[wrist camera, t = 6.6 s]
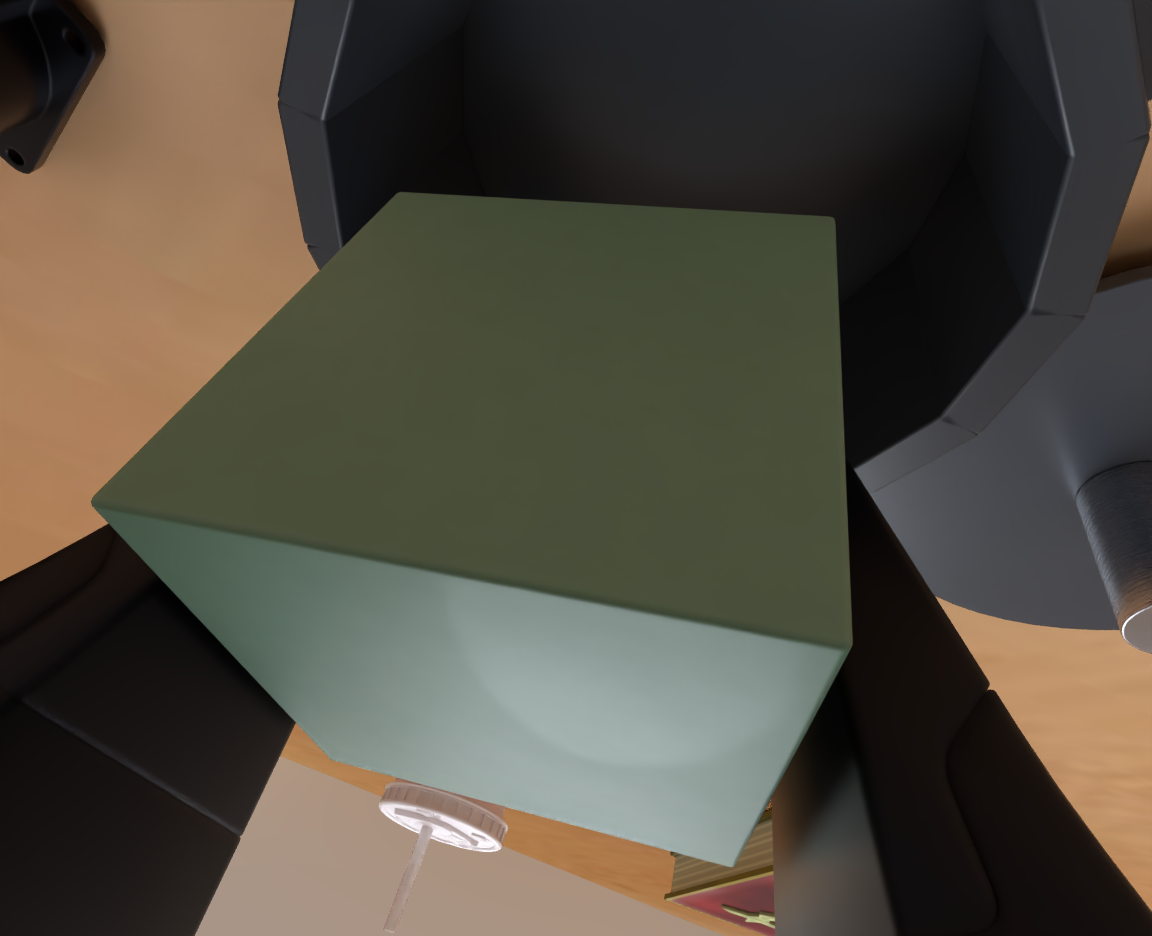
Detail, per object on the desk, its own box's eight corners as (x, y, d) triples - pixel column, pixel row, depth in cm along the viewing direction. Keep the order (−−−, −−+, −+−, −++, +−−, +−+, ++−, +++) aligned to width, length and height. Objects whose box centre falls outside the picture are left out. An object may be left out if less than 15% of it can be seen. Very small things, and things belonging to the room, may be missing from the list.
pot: (1254, 170, 13) (1470, 369, 8) (559, 431, 23) (500, 578, 19) (1186, -934, 6) (1875, -2264, 2) (277, 104, 17) (94, 215, 13)
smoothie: (477, 606, 34) (352, 911, 25) (577, 658, 36) (493, 964, 26) (436, 640, 39) (317, 909, 30) (526, 686, 40) (439, 955, 31)
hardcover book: (945, 863, 44) (953, 936, 41) (790, 893, 60) (788, 948, 57) (784, 804, 44) (781, 873, 41) (670, 850, 59) (663, 903, 57)
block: (470, 473, 11) (328, 761, 8) (397, 189, 8) (82, 501, 4) (761, 518, 10) (734, 870, 7) (836, 214, 7) (856, 648, 3)
